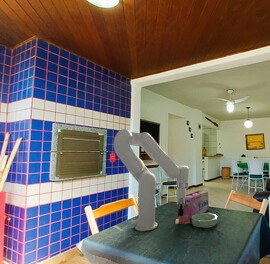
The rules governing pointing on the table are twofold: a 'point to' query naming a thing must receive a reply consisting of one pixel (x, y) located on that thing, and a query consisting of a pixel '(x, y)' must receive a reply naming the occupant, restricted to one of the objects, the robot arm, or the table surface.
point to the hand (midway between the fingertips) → (180, 213)
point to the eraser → (183, 218)
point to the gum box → (196, 203)
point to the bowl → (204, 220)
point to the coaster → (182, 222)
